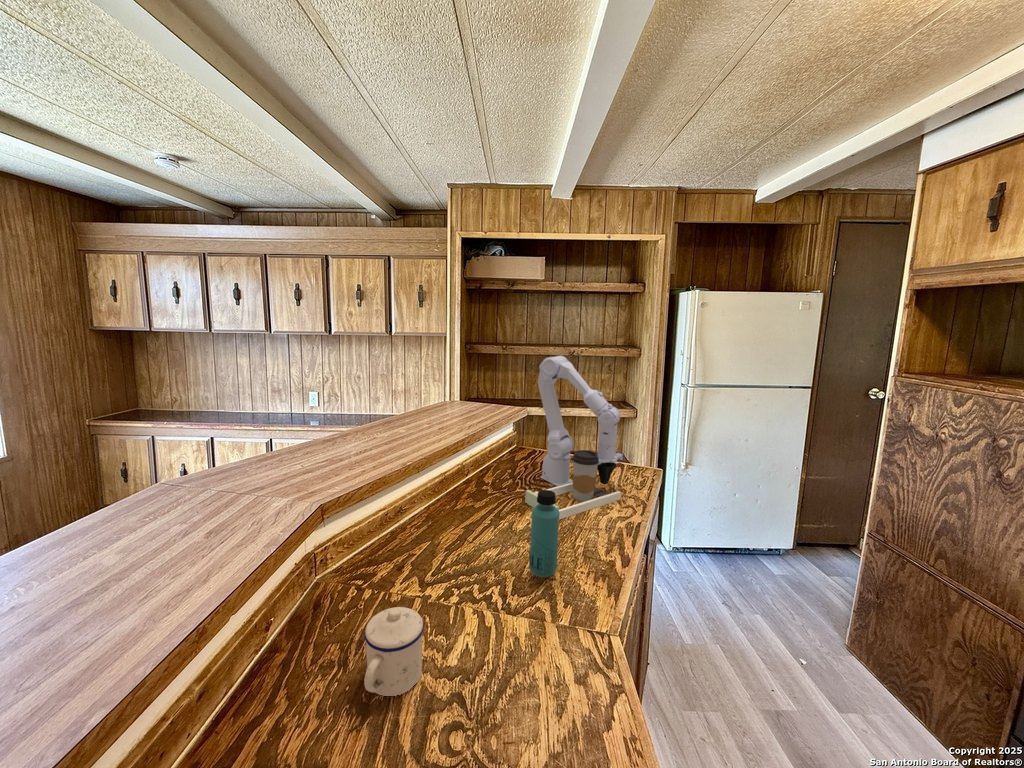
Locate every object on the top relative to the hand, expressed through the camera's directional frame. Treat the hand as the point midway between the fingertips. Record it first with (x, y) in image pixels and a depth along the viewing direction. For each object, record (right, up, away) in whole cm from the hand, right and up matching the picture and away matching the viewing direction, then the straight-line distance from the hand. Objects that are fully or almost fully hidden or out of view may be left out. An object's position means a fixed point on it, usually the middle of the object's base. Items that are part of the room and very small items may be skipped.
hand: (604, 483), depth 147 cm
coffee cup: (-8, -4, -5) cm, 10 cm away
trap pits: (-2, -3, -1) cm, 4 cm away
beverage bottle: (-24, -10, -47) cm, 54 cm away
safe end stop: (-22, -5, -15) cm, 27 cm away
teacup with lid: (-50, -14, -77) cm, 93 cm away
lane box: (-11, -4, -7) cm, 14 cm away
